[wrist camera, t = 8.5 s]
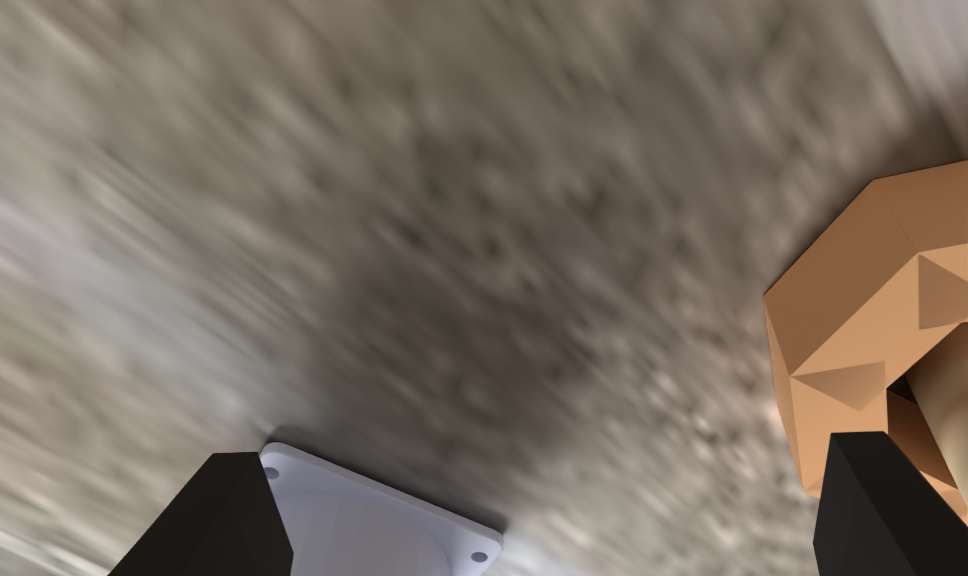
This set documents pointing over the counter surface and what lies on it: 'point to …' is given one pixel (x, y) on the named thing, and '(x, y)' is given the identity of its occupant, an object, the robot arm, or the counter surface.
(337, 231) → the counter surface
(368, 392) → the counter surface
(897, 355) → the orange faceted ring
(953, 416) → the dowel
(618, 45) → the counter surface
